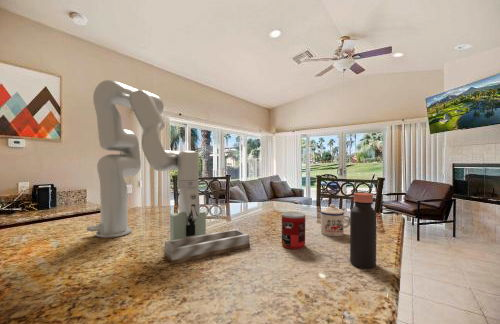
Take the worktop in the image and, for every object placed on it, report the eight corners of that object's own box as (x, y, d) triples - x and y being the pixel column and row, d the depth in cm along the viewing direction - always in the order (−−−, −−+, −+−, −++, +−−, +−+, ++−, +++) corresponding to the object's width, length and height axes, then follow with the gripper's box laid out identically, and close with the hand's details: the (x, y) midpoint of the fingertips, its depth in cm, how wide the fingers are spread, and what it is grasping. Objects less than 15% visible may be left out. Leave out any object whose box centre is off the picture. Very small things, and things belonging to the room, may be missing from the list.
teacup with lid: (323, 236, 96) (323, 206, 95) (317, 230, 105) (318, 202, 105) (355, 237, 95) (355, 206, 95) (346, 230, 104) (347, 202, 104)
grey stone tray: (173, 264, 71) (173, 250, 70) (164, 253, 78) (164, 241, 78) (249, 246, 85) (250, 234, 85) (236, 239, 93) (236, 228, 93)
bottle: (374, 271, 66) (375, 196, 66) (347, 265, 70) (348, 194, 70) (377, 262, 72) (377, 193, 72) (352, 257, 76) (352, 191, 75)
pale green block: (173, 244, 87) (173, 216, 87) (170, 241, 90) (170, 213, 90) (205, 238, 94) (205, 212, 94) (201, 235, 97) (201, 210, 97)
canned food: (279, 242, 89) (279, 211, 89) (301, 241, 90) (301, 211, 90) (284, 250, 82) (284, 216, 82) (308, 249, 82) (308, 216, 82)
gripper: (206, 185, 87) (207, 238, 87) (190, 182, 101) (190, 227, 101) (185, 187, 83) (186, 242, 83) (171, 183, 97) (171, 230, 97)
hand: (188, 233), depth 92 cm, fingers closed on pale green block, 4 cm apart
